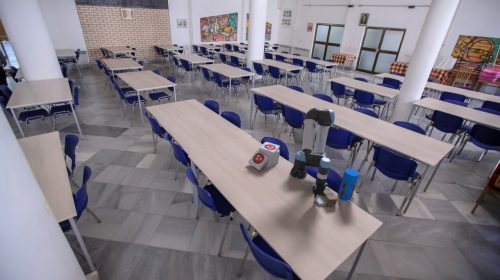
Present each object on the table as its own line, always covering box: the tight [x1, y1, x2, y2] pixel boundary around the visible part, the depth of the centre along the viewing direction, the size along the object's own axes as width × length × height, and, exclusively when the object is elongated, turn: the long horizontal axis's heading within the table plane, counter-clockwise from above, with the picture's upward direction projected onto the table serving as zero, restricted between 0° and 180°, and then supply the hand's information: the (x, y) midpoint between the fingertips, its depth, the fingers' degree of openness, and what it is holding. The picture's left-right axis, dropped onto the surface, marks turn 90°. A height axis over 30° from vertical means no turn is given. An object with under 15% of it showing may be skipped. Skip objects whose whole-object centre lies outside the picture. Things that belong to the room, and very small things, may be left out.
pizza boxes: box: [247, 141, 281, 171], centre depth 231 cm, size 19×30×18 cm, turn 131°
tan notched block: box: [320, 187, 338, 207], centre depth 192 cm, size 13×7×7 cm, turn 14°
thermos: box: [337, 167, 360, 202], centre depth 193 cm, size 11×11×25 cm
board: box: [313, 196, 328, 206], centre depth 192 cm, size 8×11×2 cm
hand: (315, 200), depth 190 cm, fingers closed
